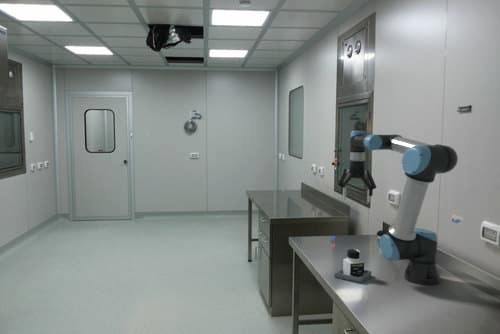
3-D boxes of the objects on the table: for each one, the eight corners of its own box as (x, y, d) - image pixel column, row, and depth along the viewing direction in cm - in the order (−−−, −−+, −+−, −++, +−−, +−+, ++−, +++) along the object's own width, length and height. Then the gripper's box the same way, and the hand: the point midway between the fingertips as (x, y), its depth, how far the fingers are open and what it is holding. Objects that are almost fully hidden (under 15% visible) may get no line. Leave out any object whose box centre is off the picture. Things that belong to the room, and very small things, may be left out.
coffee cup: (392, 250, 234) (393, 230, 233) (399, 256, 223) (400, 234, 222) (373, 250, 234) (374, 230, 233) (379, 256, 223) (379, 234, 222)
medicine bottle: (350, 278, 187) (350, 252, 186) (342, 273, 194) (343, 248, 193) (364, 277, 189) (364, 251, 188) (356, 272, 195) (356, 247, 194)
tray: (371, 276, 192) (371, 270, 192) (360, 283, 182) (360, 278, 182) (346, 270, 200) (346, 265, 200) (334, 277, 190) (334, 272, 190)
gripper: (383, 161, 208) (382, 202, 210) (338, 159, 223) (337, 197, 225) (378, 161, 202) (377, 204, 204) (332, 159, 217) (331, 199, 219)
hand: (356, 200), depth 214 cm, fingers open, 13 cm apart
